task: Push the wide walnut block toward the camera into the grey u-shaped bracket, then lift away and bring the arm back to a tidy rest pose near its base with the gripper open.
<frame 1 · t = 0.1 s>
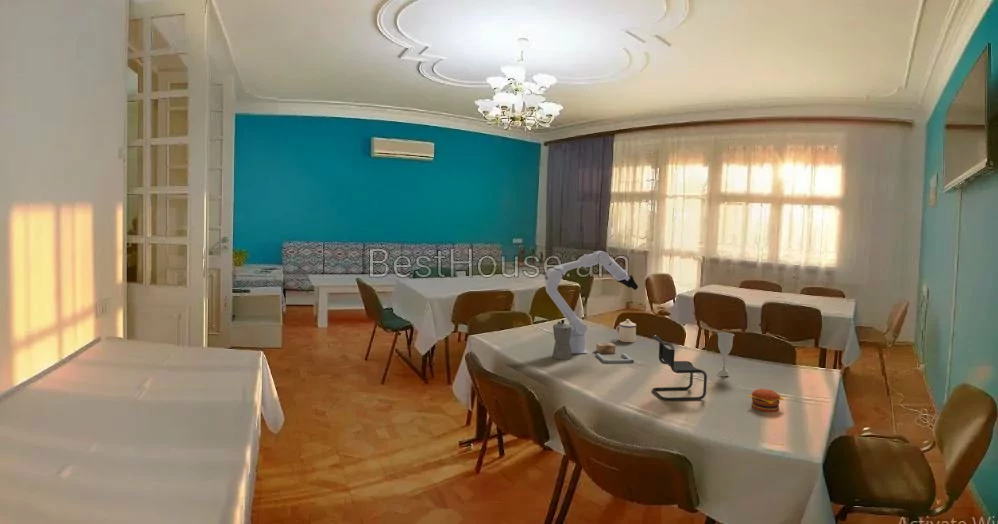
hand: (633, 287, 282), 32 cm above the table, tool tilted 50°, fingers open, 7 cm apart
teacup with lid: (624, 340, 307), on the table
grey u-shaped bracket: (614, 358, 269), on the table
coffeepot: (561, 356, 272), on the table
hamburger: (765, 408, 206), on the table
chalice: (723, 375, 246), on the table
walnut block: (605, 352, 282), on the table
chair: (677, 395, 219), on the table
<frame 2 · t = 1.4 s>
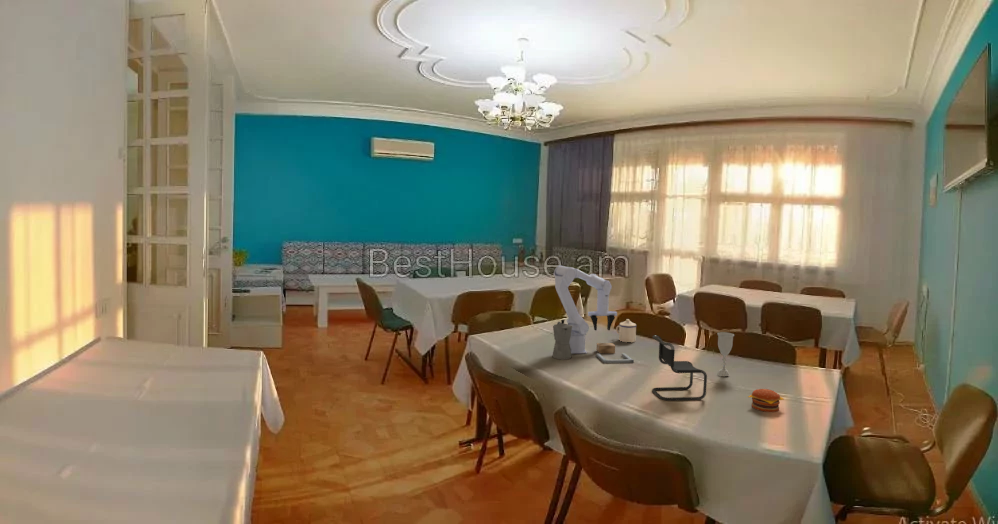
hand: (602, 329, 288), 9 cm above the table, tool pointing down, fingers open, 6 cm apart
nothing on the table moved.
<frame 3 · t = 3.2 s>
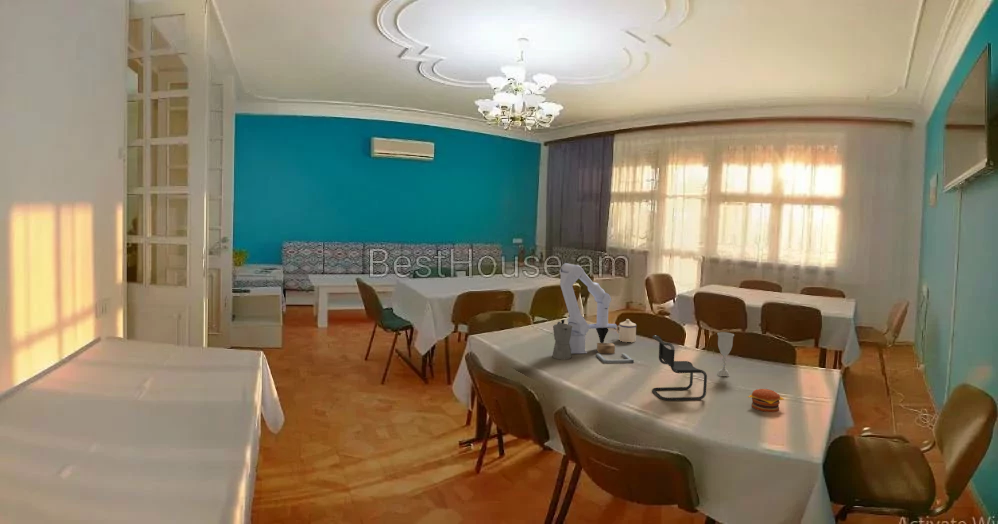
hand: (601, 342, 289), 3 cm above the table, tool pointing down, fingers closed
nothing on the table moved.
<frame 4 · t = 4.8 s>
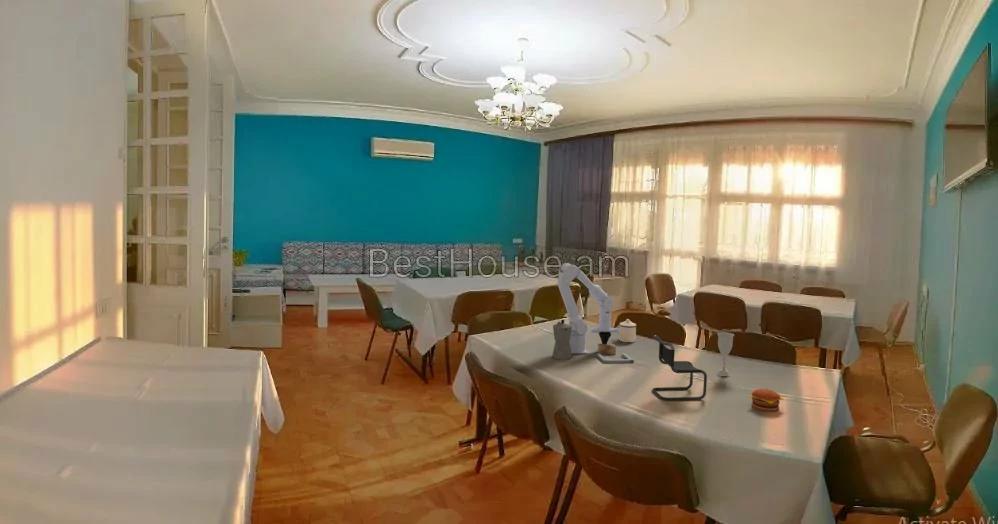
hand: (604, 346, 284), 2 cm above the table, tool pointing down, fingers closed
walnut block: (606, 353, 281), on the table, touching gripper
everything else where it was.
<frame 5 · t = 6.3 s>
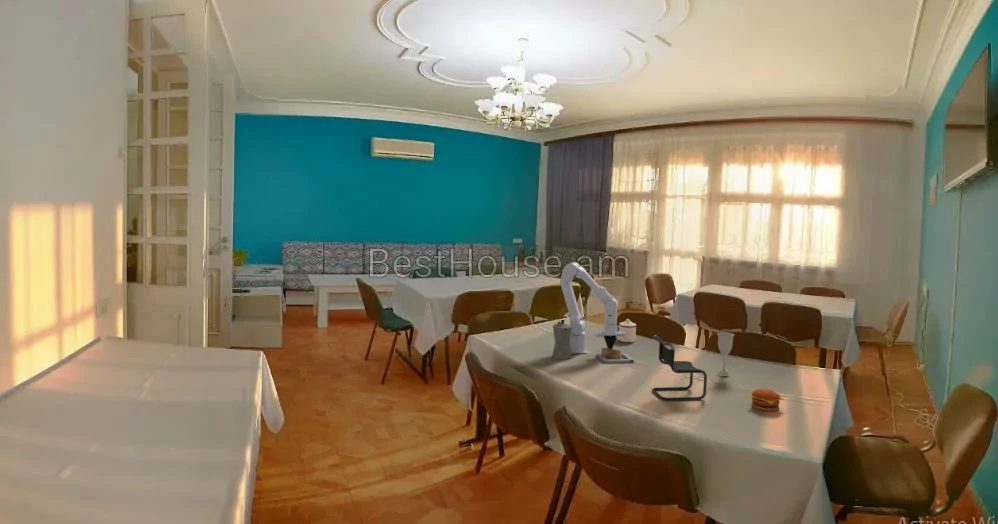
hand: (609, 351, 276), 2 cm above the table, tool pointing down, fingers closed
walnut block: (610, 357, 272), on the table, touching gripper
everything else where it was.
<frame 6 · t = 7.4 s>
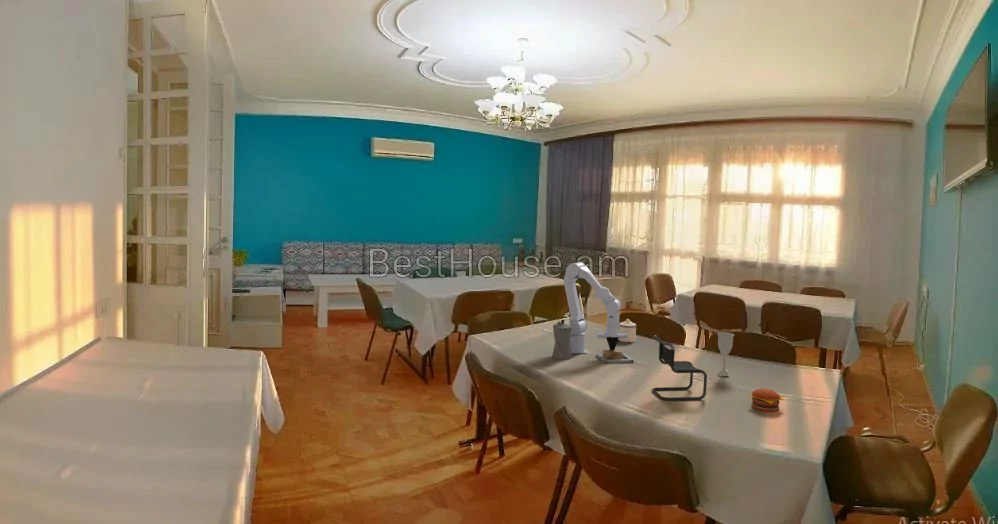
hand: (611, 352, 273), 2 cm above the table, tool pointing down, fingers closed
walnut block: (612, 359, 269), on the table
everything else where it was.
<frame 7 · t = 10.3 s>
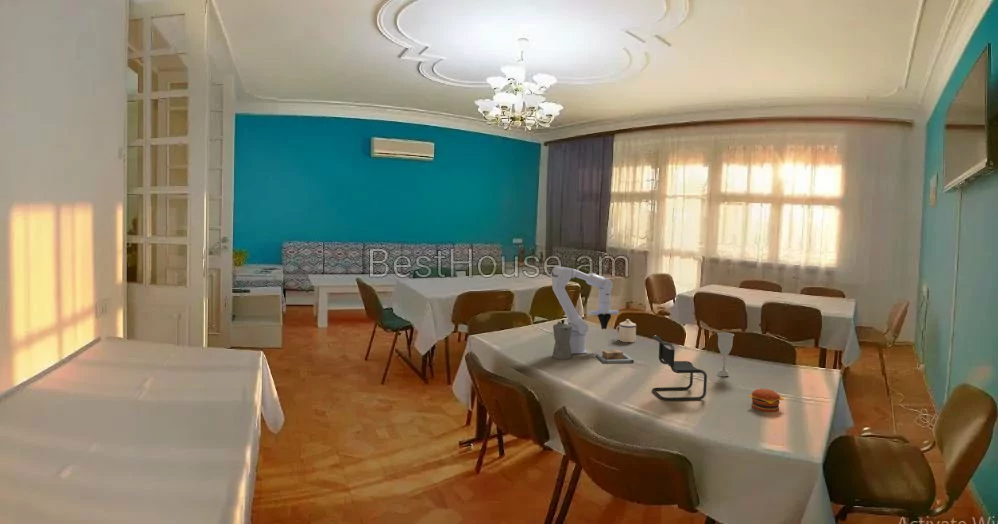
hand: (603, 328, 286), 10 cm above the table, tool pointing down, fingers closed
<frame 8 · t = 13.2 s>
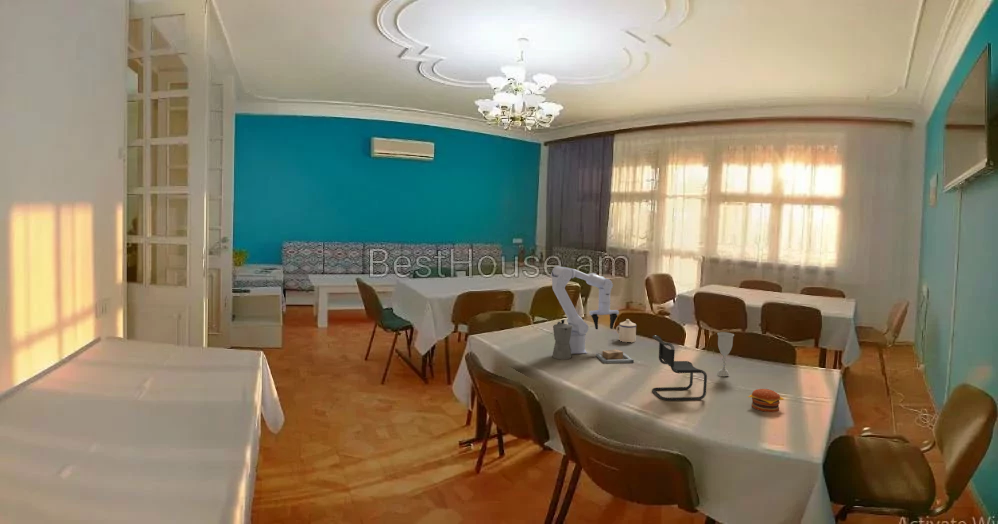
hand: (603, 328, 286), 10 cm above the table, tool pointing down, fingers open, 7 cm apart
nothing on the table moved.
at the end: walnut block inside the target area (0.9 cm from its centre), on the table; walnut block tilted 0°; the gripper is holding nothing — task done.
